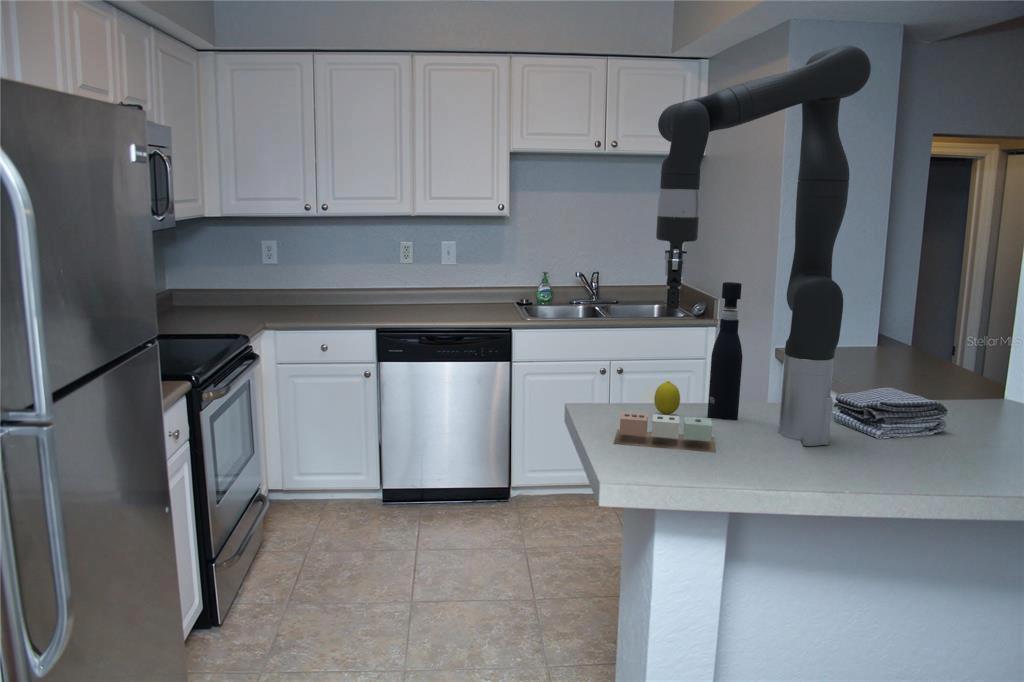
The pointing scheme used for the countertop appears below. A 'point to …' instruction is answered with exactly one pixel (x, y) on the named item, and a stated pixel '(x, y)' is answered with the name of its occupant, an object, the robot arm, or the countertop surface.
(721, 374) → the wine bottle
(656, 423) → the key two
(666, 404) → the lemon
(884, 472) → the countertop surface
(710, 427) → the key one
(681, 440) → the board
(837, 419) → the towel
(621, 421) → the key three
